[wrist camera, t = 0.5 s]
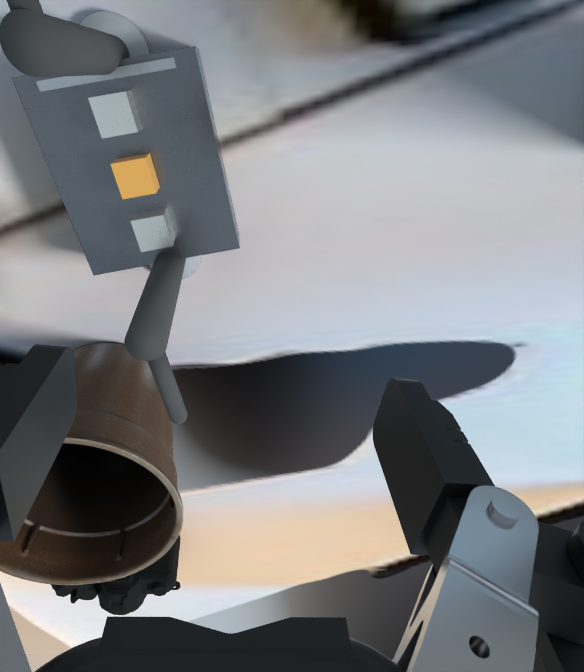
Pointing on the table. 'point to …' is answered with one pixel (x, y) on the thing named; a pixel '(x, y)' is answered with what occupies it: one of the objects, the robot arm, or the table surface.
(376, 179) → the table surface
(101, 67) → the cable post
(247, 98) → the table surface
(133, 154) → the grey block holder
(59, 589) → the film camera
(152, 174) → the orange matte cube
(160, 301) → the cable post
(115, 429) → the plant pot
